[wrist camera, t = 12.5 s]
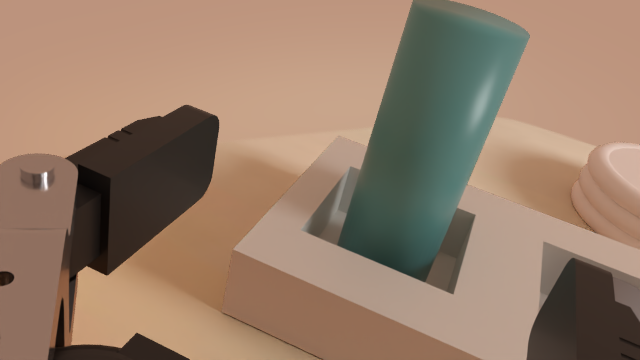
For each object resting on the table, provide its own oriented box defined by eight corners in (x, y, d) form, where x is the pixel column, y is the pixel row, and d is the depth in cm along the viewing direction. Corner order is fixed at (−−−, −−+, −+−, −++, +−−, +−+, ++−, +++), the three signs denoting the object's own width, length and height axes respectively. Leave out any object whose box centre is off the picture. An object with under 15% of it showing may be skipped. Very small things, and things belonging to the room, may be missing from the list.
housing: (677, 326, 27) (716, 274, 25) (736, 553, 18) (803, 495, 16) (325, 184, 31) (339, 132, 29) (221, 311, 21) (233, 244, 20)
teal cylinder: (431, 263, 26) (532, 25, 20) (412, 317, 23) (526, 50, 17) (350, 228, 27) (426, -9, 21) (319, 275, 23) (399, 8, 18)
